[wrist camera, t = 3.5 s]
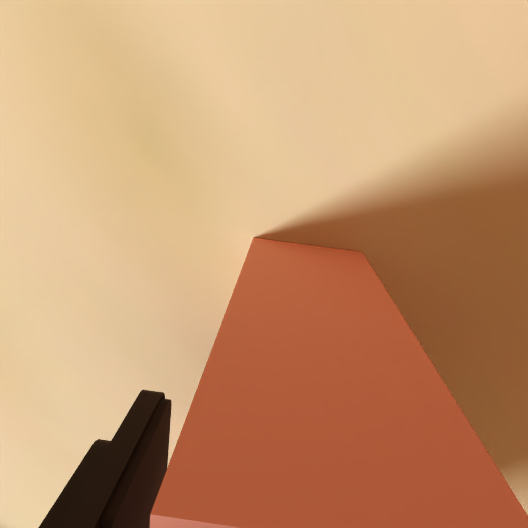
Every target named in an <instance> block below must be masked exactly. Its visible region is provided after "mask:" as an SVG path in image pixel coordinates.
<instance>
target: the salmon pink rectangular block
mask: <svg viewBox="0 0 528 528" xmlns="http://www.w3.org/2000/svg"><path fill="white" fill-rule="evenodd" d="M150 528H528V515H527V514H526V512H525V511H524V509H523V508H522V506H521V504H520V503H519V501H518V500H517V498H516V496H515V495H514V493H513V492H512V490H511V488H510V487H509V485H508V484H507V482H506V480H505V479H504V477H503V476H502V474H501V472H500V471H499V469H498V468H497V466H496V464H495V463H494V461H493V460H492V458H491V456H490V455H489V453H488V452H487V450H486V449H485V447H484V445H483V444H482V442H481V441H480V439H479V437H478V436H477V434H476V433H475V431H474V429H473V428H472V426H471V425H470V423H469V421H468V420H467V418H466V417H465V415H464V413H463V412H462V410H461V409H460V407H459V405H458V404H457V402H456V401H455V399H454V397H453V396H452V394H451V393H450V391H449V390H448V388H447V386H446V385H445V383H444V382H443V380H442V378H441V377H440V375H439V374H438V372H437V370H436V369H435V367H434V366H433V364H432V362H431V361H430V359H429V358H428V356H427V354H426V353H425V351H424V350H423V348H422V346H421V345H420V343H419V342H418V340H417V338H416V337H415V335H414V334H413V332H412V331H411V329H410V327H409V326H408V324H407V323H406V321H405V319H404V318H403V316H402V315H401V313H400V311H399V310H398V308H397V307H396V305H395V303H394V302H393V300H392V299H391V297H390V295H389V294H388V292H387V291H386V289H385V287H384V286H383V284H382V283H381V281H380V279H379V278H378V276H377V275H376V273H375V272H374V270H373V268H372V267H371V265H370V264H369V262H368V260H367V259H366V257H365V256H364V254H363V252H358V251H351V250H343V249H336V248H328V247H321V246H313V245H306V244H298V243H291V242H283V241H276V240H268V239H261V238H253V241H252V243H251V246H250V249H249V251H248V254H247V257H246V259H245V262H244V265H243V267H242V270H241V273H240V275H239V278H238V281H237V284H236V286H235V289H234V292H233V294H232V297H231V300H230V302H229V305H228V308H227V310H226V313H225V316H224V318H223V321H222V324H221V326H220V329H219V332H218V334H217V337H216V340H215V342H214V345H213V348H212V350H211V353H210V356H209V358H208V361H207V364H206V366H205V369H204V372H203V375H202V377H201V380H200V383H199V385H198V388H197V391H196V393H195V396H194V399H193V401H192V404H191V407H190V409H189V412H188V415H187V417H186V420H185V423H184V425H183V428H182V431H181V433H180V436H179V439H178V441H177V444H176V447H175V449H174V452H173V455H172V457H171V460H170V463H169V466H168V468H167V471H166V474H165V476H164V479H163V482H162V484H161V487H160V490H159V492H158V495H157V498H156V500H155V503H154V506H153V508H152V511H151V514H150Z"/></svg>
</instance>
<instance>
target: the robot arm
mask: <svg viewBox="0 0 528 528" xmlns="http://www.w3.org/2000/svg"><path fill="white" fill-rule="evenodd" d="M170 418H171V400H169V399H165V394H164V393H162V392H155V391H148V390H142V391H141V392H140V394H139V395H138V397H137V399H136V400H135V402H134V404H133V405H132V407H131V409H130V410H129V412H128V414H127V415H126V417H125V419H124V421H123V422H122V424H121V426H120V427H119V429H118V431H117V432H116V434H115V436H114V437H113V439H112V441H107V440H100V439H98V440H97V441H95V442H94V444H93V445H92V446H91V448H90V449H89V451H88V452H87V454H86V455H85V457H84V458H83V460H82V462H81V463H80V465H79V466H78V468H77V469H76V471H75V472H74V474H73V475H72V477H71V479H70V480H69V482H68V483H67V485H66V486H65V488H64V489H63V491H62V492H61V494H60V496H59V497H58V499H57V500H56V502H55V503H54V505H53V506H52V508H51V509H50V511H49V512H48V514H47V516H46V517H45V519H44V520H43V522H42V523H41V525H40V526H39V528H150V514H151V511H152V508H153V506H154V503H155V500H156V498H157V495H158V492H159V490H160V487H161V484H162V482H163V479H164V476H165V474H166V471H167V462H168V447H169V432H170Z"/></svg>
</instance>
